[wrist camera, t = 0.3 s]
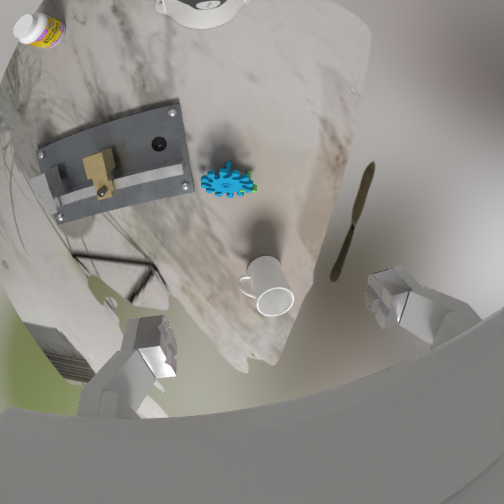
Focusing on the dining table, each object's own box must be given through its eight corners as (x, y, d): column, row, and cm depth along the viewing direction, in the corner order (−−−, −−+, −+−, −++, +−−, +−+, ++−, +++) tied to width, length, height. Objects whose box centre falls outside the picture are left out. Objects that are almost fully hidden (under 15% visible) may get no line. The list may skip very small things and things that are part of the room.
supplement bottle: (56, 51, 32) (24, 44, 21) (36, 46, 30) (3, 40, 19) (71, 23, 30) (43, 10, 19) (51, 19, 27) (21, 8, 16)
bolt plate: (38, 149, 42) (34, 151, 41) (179, 103, 45) (178, 103, 43) (60, 222, 52) (56, 226, 50) (194, 190, 54) (194, 192, 53)
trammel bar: (44, 170, 44) (26, 180, 38) (177, 129, 47) (173, 133, 40) (54, 205, 48) (39, 219, 42) (185, 171, 51) (182, 181, 45)
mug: (229, 278, 67) (235, 311, 57) (240, 248, 63) (249, 279, 53) (273, 287, 71) (285, 319, 60) (286, 259, 67) (301, 290, 57)
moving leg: (95, 151, 45) (81, 159, 39) (113, 145, 45) (101, 152, 39) (105, 190, 49) (93, 203, 43) (123, 186, 50) (112, 198, 43)
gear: (193, 193, 53) (209, 169, 44) (197, 168, 55) (213, 142, 46) (244, 205, 58) (267, 185, 49) (245, 180, 59) (268, 158, 51)
